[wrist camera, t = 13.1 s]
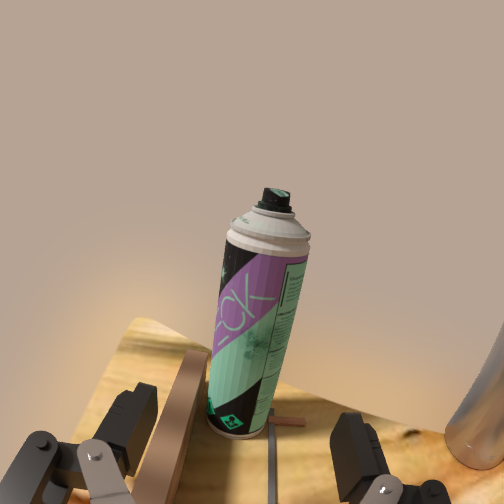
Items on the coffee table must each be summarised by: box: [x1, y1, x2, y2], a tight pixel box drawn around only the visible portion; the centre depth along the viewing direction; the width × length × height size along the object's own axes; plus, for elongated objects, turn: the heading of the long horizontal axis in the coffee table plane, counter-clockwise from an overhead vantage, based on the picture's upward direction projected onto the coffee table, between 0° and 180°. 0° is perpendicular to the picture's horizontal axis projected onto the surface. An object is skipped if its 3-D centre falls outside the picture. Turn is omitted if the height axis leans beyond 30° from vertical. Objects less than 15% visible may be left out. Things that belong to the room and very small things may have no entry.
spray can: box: [206, 188, 311, 440], centre depth 21 cm, size 6×6×20 cm
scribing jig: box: [131, 349, 306, 504], centre depth 19 cm, size 18×12×4 cm, turn 178°
